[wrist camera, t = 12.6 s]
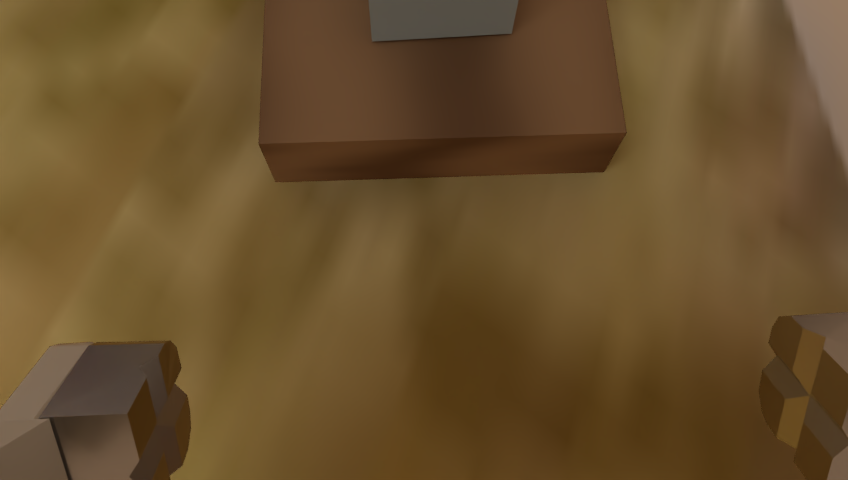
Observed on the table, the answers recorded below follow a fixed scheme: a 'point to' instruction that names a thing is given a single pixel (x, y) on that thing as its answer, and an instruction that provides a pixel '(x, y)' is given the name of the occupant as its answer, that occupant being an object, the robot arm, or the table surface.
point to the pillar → (440, 18)
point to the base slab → (437, 95)
